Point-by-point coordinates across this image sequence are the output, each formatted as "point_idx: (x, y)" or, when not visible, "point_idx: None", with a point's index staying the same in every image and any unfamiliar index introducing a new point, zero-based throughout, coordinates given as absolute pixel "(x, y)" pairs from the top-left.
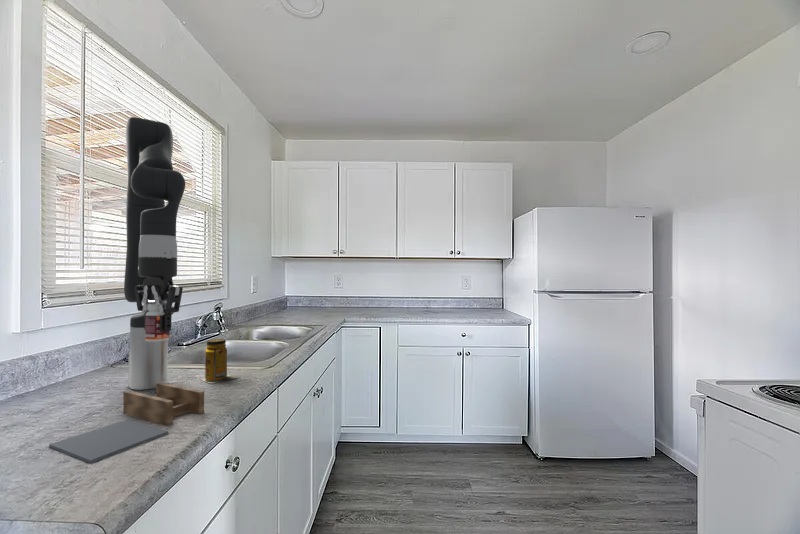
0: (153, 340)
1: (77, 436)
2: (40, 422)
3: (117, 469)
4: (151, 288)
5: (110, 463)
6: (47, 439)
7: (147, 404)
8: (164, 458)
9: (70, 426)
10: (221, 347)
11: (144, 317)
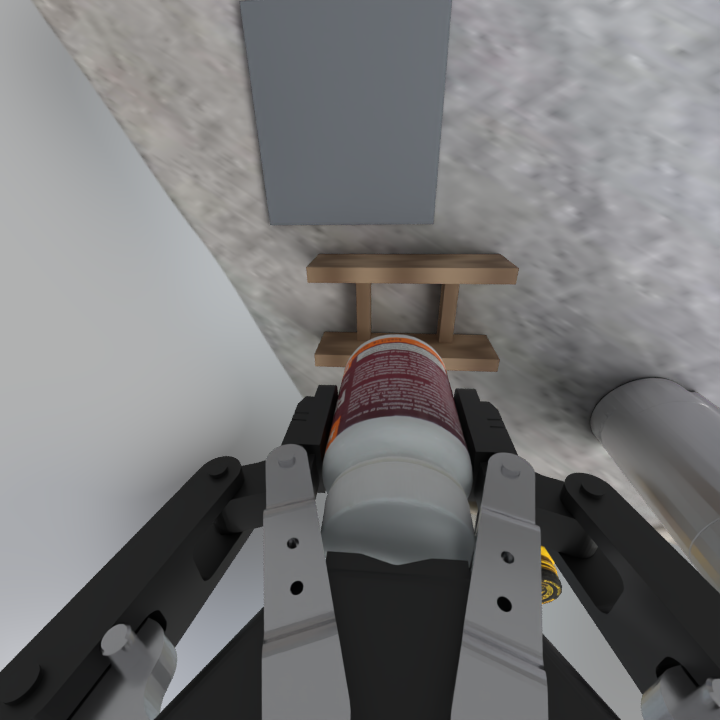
0: (362, 344)
1: (436, 74)
2: (688, 84)
3: (158, 27)
4: (350, 714)
5: (204, 37)
6: (517, 20)
7: (396, 263)
8: (143, 130)
9: (553, 120)
10: None
11: (510, 444)
